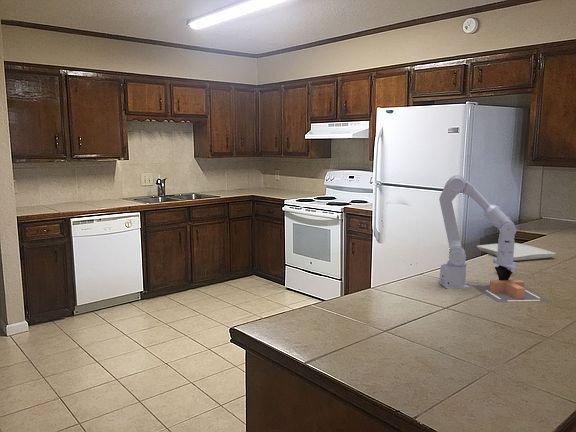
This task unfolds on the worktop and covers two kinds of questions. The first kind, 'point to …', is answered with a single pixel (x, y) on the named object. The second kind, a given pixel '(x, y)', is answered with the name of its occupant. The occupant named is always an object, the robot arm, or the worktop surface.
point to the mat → (504, 297)
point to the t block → (508, 287)
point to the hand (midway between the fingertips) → (503, 285)
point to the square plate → (519, 251)
